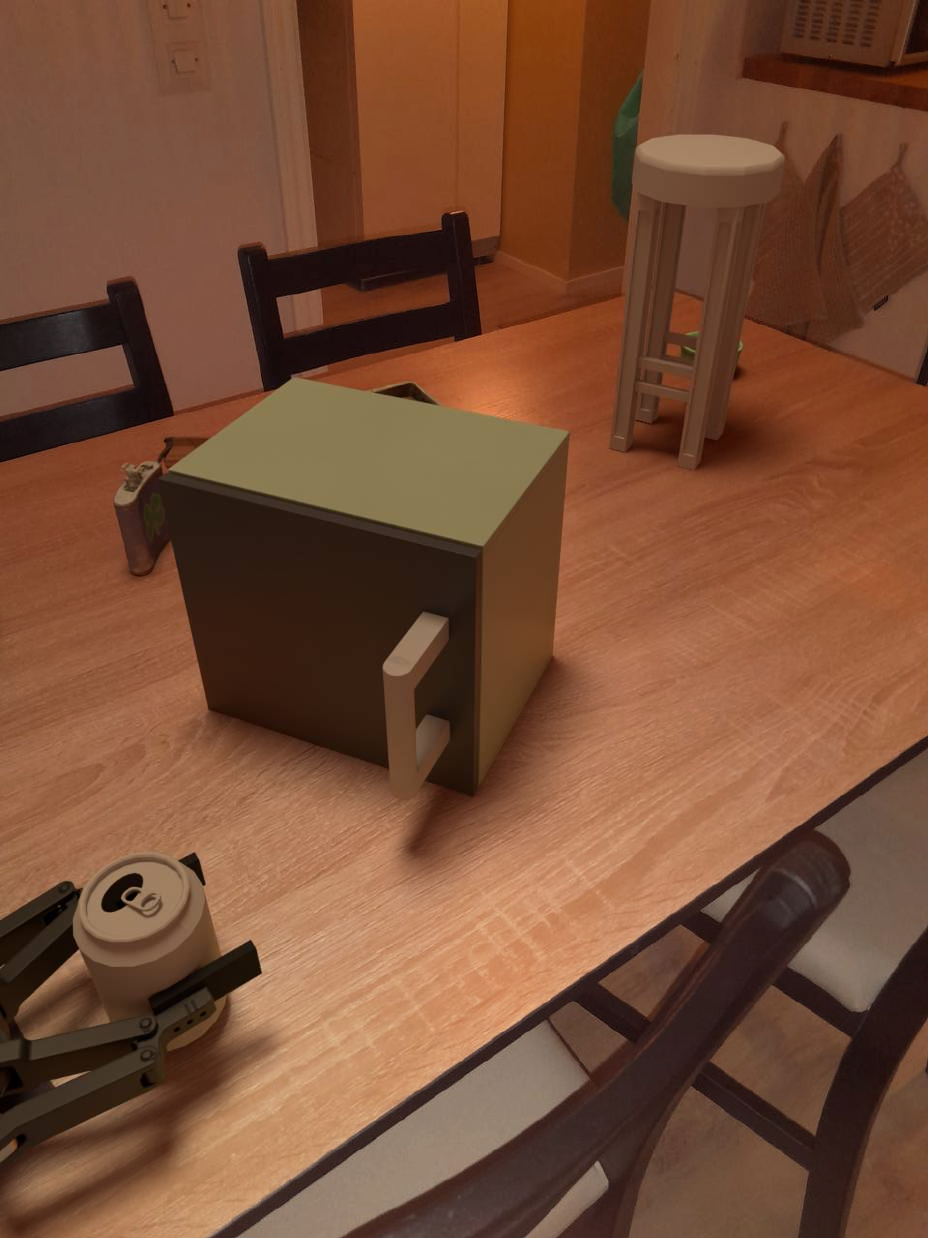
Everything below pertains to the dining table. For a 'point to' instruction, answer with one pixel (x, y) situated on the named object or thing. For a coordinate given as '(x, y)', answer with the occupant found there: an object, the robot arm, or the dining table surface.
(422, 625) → the cabinet door
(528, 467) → the olive green cabinet
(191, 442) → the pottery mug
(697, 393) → the stool
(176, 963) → the can
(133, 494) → the flask
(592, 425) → the dining table surface
